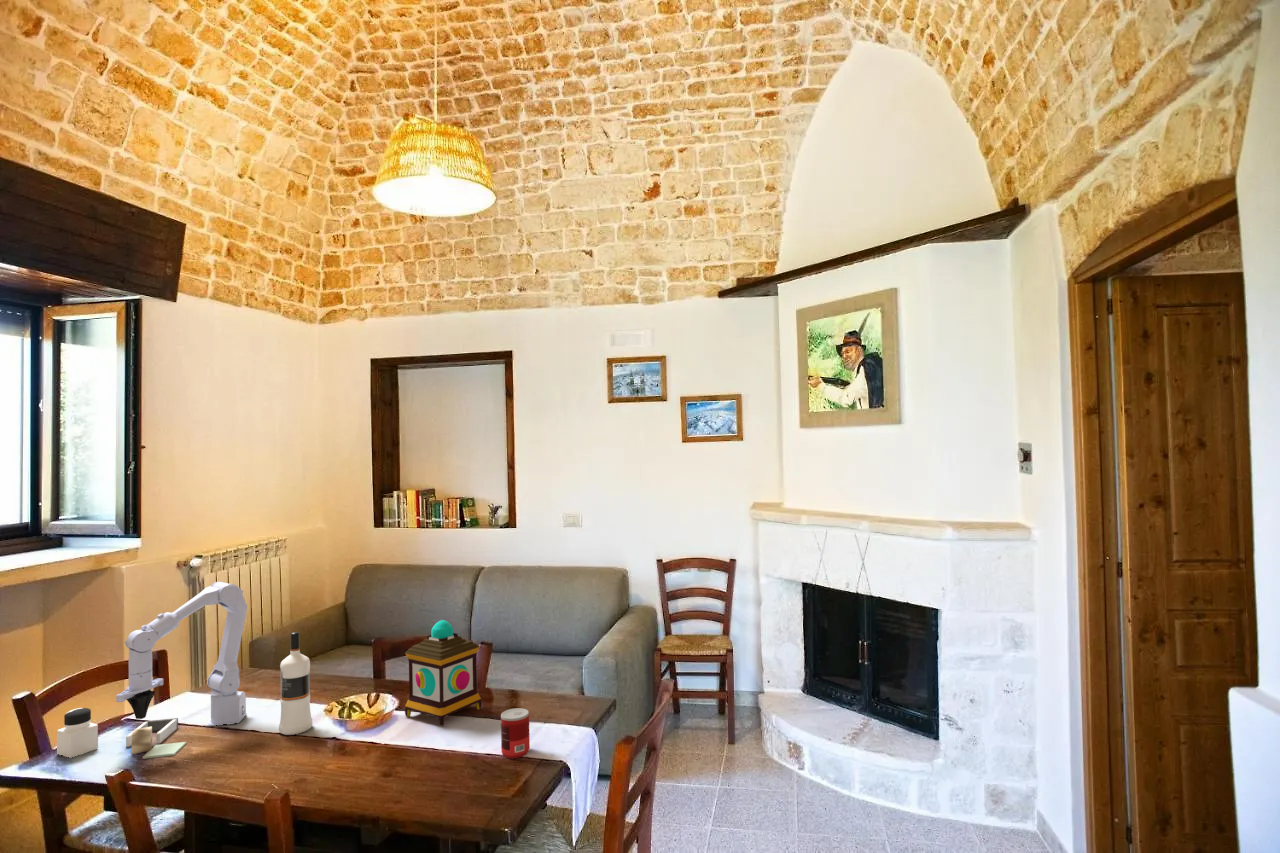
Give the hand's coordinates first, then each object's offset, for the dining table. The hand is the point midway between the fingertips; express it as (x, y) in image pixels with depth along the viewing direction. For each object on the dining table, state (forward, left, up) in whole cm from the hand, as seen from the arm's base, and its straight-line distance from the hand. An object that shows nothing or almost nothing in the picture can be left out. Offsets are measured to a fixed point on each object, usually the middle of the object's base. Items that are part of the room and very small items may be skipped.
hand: (140, 718), depth 206 cm
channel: (0, -7, -8) cm, 11 cm away
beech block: (-1, +2, -8) cm, 9 cm away
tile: (-9, +5, -8) cm, 13 cm away
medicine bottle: (+17, -1, -9) cm, 19 cm away
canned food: (-108, +33, -9) cm, 113 cm away
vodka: (-42, -1, -9) cm, 43 cm away
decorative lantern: (-86, -3, -9) cm, 87 cm away
